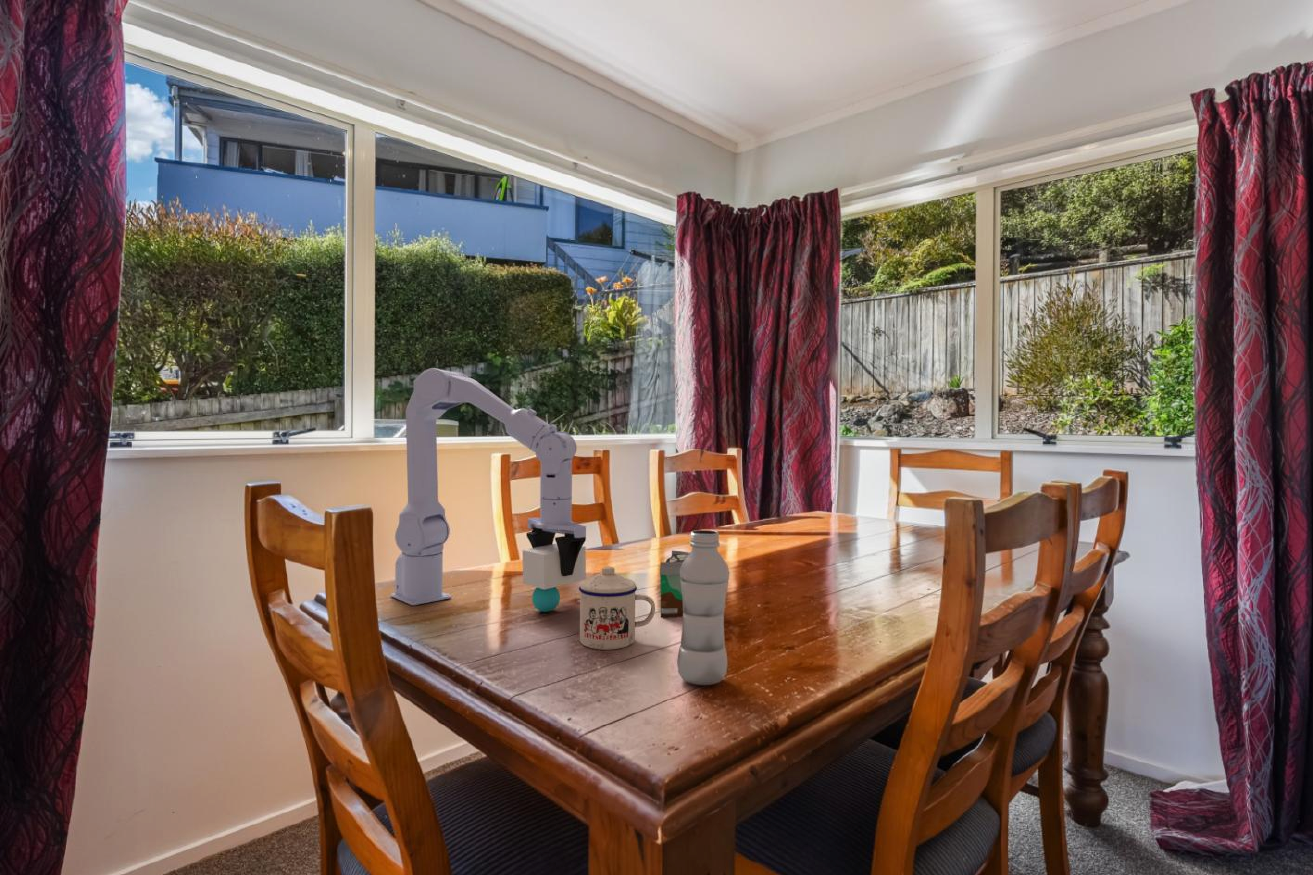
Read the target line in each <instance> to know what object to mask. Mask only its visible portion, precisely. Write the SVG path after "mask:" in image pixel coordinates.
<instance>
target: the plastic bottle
mask: <svg viewBox="0 0 1313 875" xmlns="http://www.w3.org/2000/svg"><path fill="white" fill-rule="evenodd" d="M719 535H720V534H719V531H716V530H710V529H709V530H708V529H697V530H696V529H695V530H692V531H690V542H689V546H690V547H692V548H691V550H690V552H688V553H689V554H688V556H687V557H686V559H685V560H684V562H683V563H682V566H681V569H680V579H681V580H680V581H681V589H682V598H683V611H684V613H683V616H682V628H681V635H680V636H681V637H680V645H679V648H678V652H677V659H676V664H677V672H678V674H679V675H680V677H681V679H682V680H683V681H684V682H686V683H687V684H692V685H695V686H696V685H697V686H712V685H716V684H718V683H720V682H722V680H723V679H724V678H725V676H726V674H727V669H728V656H727V655H728V653H727V650H726V644H725V643H726V641H725V640H726V639H725V624H724V621H725V614H724V613H725V608H726V598H727V592H728V586H729V580H730V570H729V566H728V564H727V561H725V558H724V557H723V556H722V555H721V553H720V552H719V551H718V548H719V547H720V540H719V539H720V536H719Z"/></svg>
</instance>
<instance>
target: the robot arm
mask: <svg viewBox="0 0 1313 875" xmlns="http://www.w3.org/2000/svg"><path fill="white" fill-rule="evenodd" d="M412 385H413V392H412V394H411V396H410V399H409V401H408V404H407V407H406V409H405V425H406V426H405V429H406V432H405V435H406V468H407V469H406V471H407V474H406V475H407V503H406V505H405V507H404V508H403V509H402V510H401V512H400V514H399V516H398V519H399V520H398V525H397V528H396V530H395V534H394V540H395V543H396V546H397V547H398V549H399V550H400V551H401V553H400V554H399V555H398V557H397V559H396V561H395V568H394V570H395V571H394V572H395V573H394V574H395V576H394V577H395V581H394V583H395V585H394V586H395V587H394V592H392V593H390V597H392V598H395V599H396V600H398V601H401V602H403V603H406V604H408V605H411V606H417V605H421V604H423V605H424V604H427V603H433V602H437V601H442V600H443V601H444V600H447V599H451V598H452V594H448V593H446V592H443V581H444V580H443V575H444V574H443V572H444V571H443V564H444V561H443V558H444V557H443V556H444V555H443V554H444V553H443V551H444V544H445V543H446V542H447V541H448V539H449V538H450V535H451V528H450V525H449V523H448V520H447V518H446V509H445V508H444V506H443V505H442V503H441V502H439V491H438V488H439V486H438V484H439V483H438V482H439V480H438V478H439V477H438V448H437V447H438V445H437V444H438V443H437V442H438V440H437V438H438V437H437V436H438V434H437V420H438V419H439V418H441V416H443V415H444V414H445V413H446V412H447V411H449V410H450V409H452V408H454V407H457V406H460V405H461V404H463V403H469V404H471V405H473V406H475V407H476V408H478V410H481V411H483V412H484V413H486V414H488V415H490V416H491V417H493V418H494V419H496V420H497V421H499V422H501V423H502V424H503V425H504V428H505V432H506V434H507V435H509V436H510V437H511V438H513V439H514V440H515V441H517V442H519V443H520V444H521V445H523V446H525V447H526V448H527V449H529V450H530V451H532V453H533V452H534V453H535V456H536V458H537V459H538V461H539V462H540V480H539V481H540V485H539V486H540V487H539V488H540V489H539V494H540V495H539V500H540V501H539V504H540V505H539V516H540V517H528V518H527V529H528V530H531V531H528V532H526V533H525V534H526V538H527V539H528V541H529V543H530V545H531V547H532V548H536V547H541V546H546V545H552V544H554V540H555V544H557V546H558V550H559V554H560V566H561V574H562V576H569V575H573V571H574V567H575V564H576V560H577V557H578V554H579V552H580V550H581V548H582V546H584V544H585V543H586V540H587V525H582V524H580V523H576V522H575V521H572V519H573V518H572V513H573V512H572V511H573V510H572V507H573V505H572V503H573V498H572V497H573V472H572V471H573V458H574V457H575V455H576V453H577V443H576V440H575V439H574V437H573V436H572V435H570V433H569V432H567V431H557V429H558V427H557V426H556V425H555V424H554V423H553V424H549V423H548V422H546V421H544V420H543V419H541V417H539V416H537V414H538V412H537V411H536V410H534V409H533V408H532V409H531V408H529V409H527V408H519V409H515V408H513V407H512V406H511V405H510V404H508V403H507V402H505V401H504V400H503V399H501V398H499V397H498V396H497V395H496V394H494V393H493V392H492V391H490V390H489V389H488V388H486V387H485V386H484V385H482V384H481V383H479V381H477V380H476V379H473V377H472V378H471V377H469V376H467V375H466V374H464V373H463V372H460V371H449V370H442V369H440V368H435V367H434V368H433V367H431V368H428V369H427V368H426V369H425V370H424V371H423V372H421V373H420V375H418V376H417V377H416V378H415V379H414V380H413V384H412ZM556 534H558V535H559V534H560V535H563V536H556Z"/></svg>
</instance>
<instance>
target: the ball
mask: <svg viewBox="0 0 1313 875" xmlns="http://www.w3.org/2000/svg"><path fill="white" fill-rule="evenodd" d="M531 601H532V604H533V605H532V606H534V608H535V609H536V610H538V611H539V612H543V613H548V612H552V611H554V610H555V609H556V608H557V607H558V606H559V603H560V601H561V593H560V591H559V589H558V588H557V587H553V588H549V589H545V590H544V589H541V588H537V587H535V589H534V590H533V592H532V596H531Z"/></svg>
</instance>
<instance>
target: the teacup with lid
mask: <svg viewBox="0 0 1313 875" xmlns="http://www.w3.org/2000/svg"><path fill="white" fill-rule="evenodd" d="M615 570H616V569H615V567H613V566H604V567H603V566H602V569H601V572H600V573H597V574H595V575H594V576H592V577H591V578H586V579H584V580H581V581H580V584H579V587H578V591H579V594H580V596H579V597H580V599H579V600H580V601H579V602H580V603H579V606H580V607H579V641H580V643H581V644H582V645H583V646H585V647H587V648H589V649H595V650H603V651H605V650H606V651H607V650H608V651H610V650H619V649H623V648H627V647H629V646H631V645H632V644H634V642H635V640H636V628H640V627H644V626H647V625H648V624H649V623H650V622H651V621H652V620H653V618H654V616H655V613H656V604H655V601H654V599H653V598H652V597H650V596H649V595H647V594H636V592H637V590H638V587H637V586H638V585H637V584H636V582H635V581H634V580H632V579H630V578H626V577H625V576H622V575H621V574H619V573H617V572H616V571H615ZM641 600H642V601H646V602H647V603H648V604H650V611H649V614H648V615H647V617H646V618H644V619H642V620H639V621H636V601H641Z"/></svg>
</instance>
